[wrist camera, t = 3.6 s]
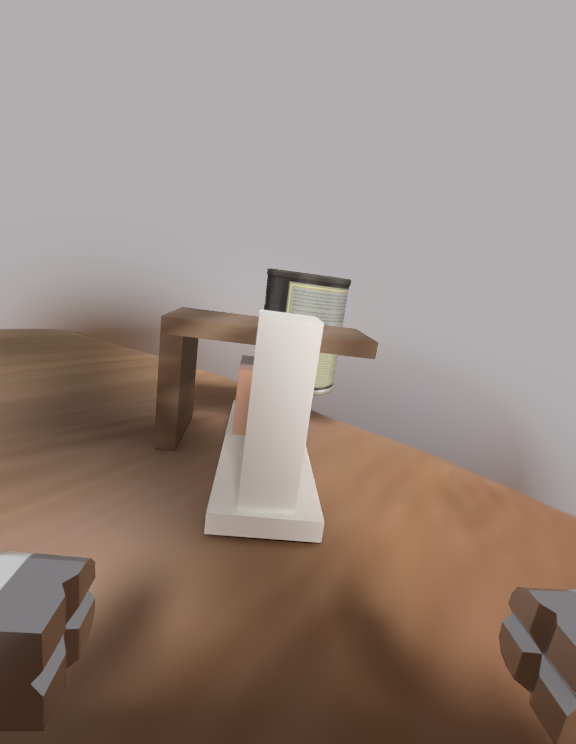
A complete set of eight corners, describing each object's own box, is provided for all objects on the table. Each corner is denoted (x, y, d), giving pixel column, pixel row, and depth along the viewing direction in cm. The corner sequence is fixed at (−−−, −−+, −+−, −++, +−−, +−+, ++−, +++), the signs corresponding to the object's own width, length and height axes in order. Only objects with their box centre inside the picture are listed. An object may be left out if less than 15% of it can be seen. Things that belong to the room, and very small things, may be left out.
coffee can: (239, 381, 49) (251, 265, 46) (278, 369, 58) (291, 271, 55) (314, 402, 45) (333, 275, 41) (344, 385, 54) (362, 281, 51)
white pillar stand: (204, 533, 20) (224, 311, 17) (232, 412, 37) (244, 292, 35) (320, 542, 20) (358, 328, 18) (295, 418, 38) (311, 301, 35)
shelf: (154, 448, 29) (161, 315, 26) (175, 415, 35) (182, 307, 33) (354, 467, 30) (378, 342, 28) (338, 431, 37) (355, 329, 34)
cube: (232, 434, 29) (239, 369, 28) (236, 411, 34) (242, 355, 33) (298, 440, 30) (307, 377, 29) (293, 417, 35) (301, 362, 33)
